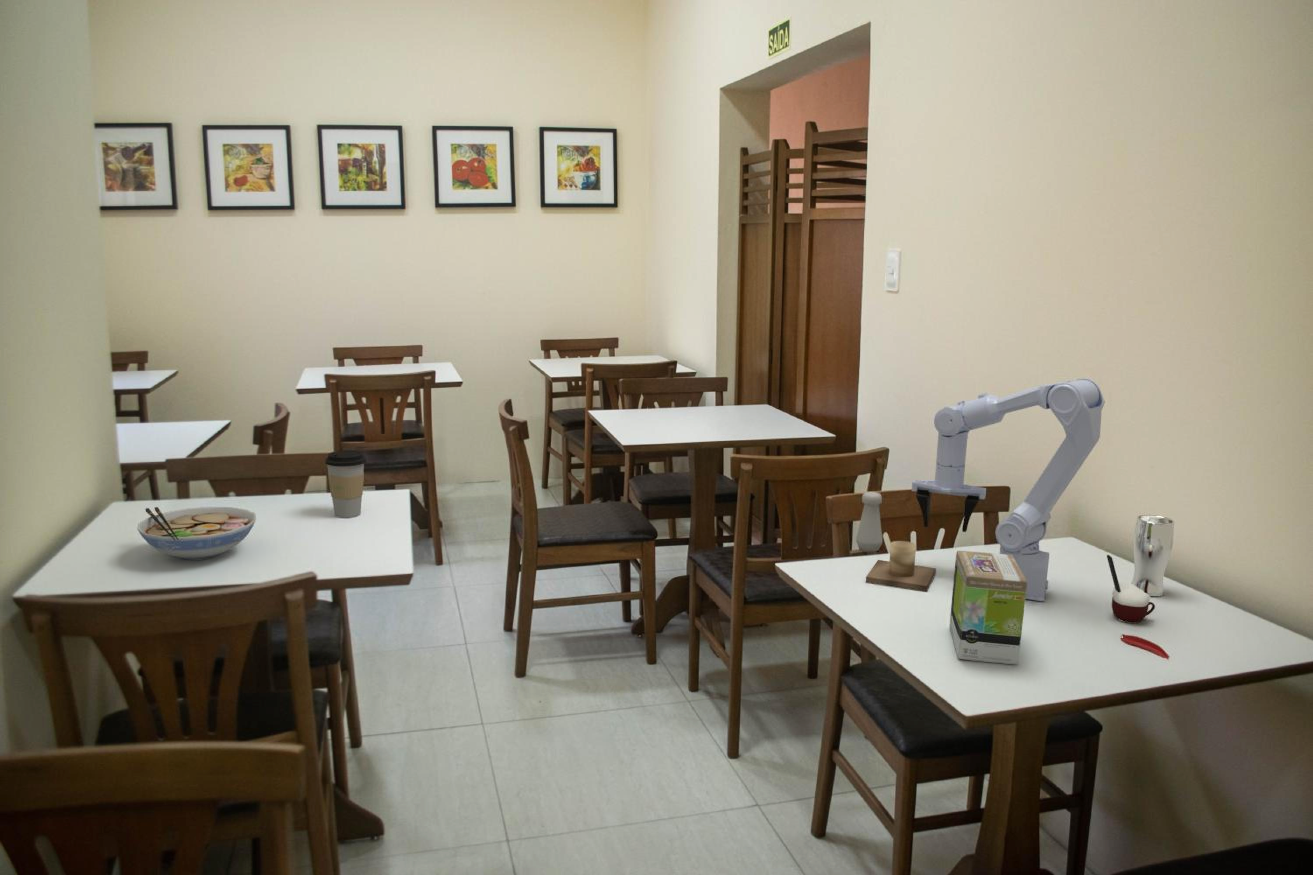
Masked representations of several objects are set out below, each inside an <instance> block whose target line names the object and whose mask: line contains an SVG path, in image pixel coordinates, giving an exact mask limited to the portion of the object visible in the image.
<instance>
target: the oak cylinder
mask: <svg viewBox="0 0 1313 875" xmlns="http://www.w3.org/2000/svg"><path fill="white" fill-rule="evenodd" d="M889 549H890V551H889V561H890V562H889V573H890V574H892V575H895V576H899V577H910V576H913V575H914V567H915V564H916V551H917V544H915V543H913V542H911V541H907V540H906V541H905V540H894V541H891V543H890V548H889Z"/></svg>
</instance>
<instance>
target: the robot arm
mask: <svg viewBox="0 0 1313 875" xmlns="http://www.w3.org/2000/svg"><path fill="white" fill-rule="evenodd" d="M1105 403H1106V401H1105V398H1104V396H1103V393H1102V390H1101V389H1100V386H1099V385H1098V384H1097V383H1096V382H1095V381H1094V380H1092V379H1090V378H1084V377H1083V378H1079V379H1076V380H1074V381H1073V380H1068V381H1061V382H1060V381H1059V382H1054V383H1053V382H1052V383H1047V384H1042V385H1038V386H1035V387H1034V386H1033V387H1031V388H1028V389H1026V390H1022V391H1018V392H1017V393H1014V394H1009V395H1008V396H1007V395H1006V396H1004V397H1002V398H1000V397H999V396H997V395H994V394H988V393H987V392H986V393H981V394H978V395H977V398H974V399H972V400H968V401H965V400H960V401H958V402H957V403H956V404H957V405H954V406H944V407H942V408H941V409H939V410H938V411H937V412H936V413H935V416H934V418H933V422H934V428H935V429H936V430H937V432H938V436H937V447H936V459H935V462H936V463H935V476H934V481H933V480H917V479H913V481H912V484H911V492H916V494H915V497H916V501H917V502H918V504H919V507H920V510H921V514H922V519H923V527H925V528H928V527H929V525H930V520H931V518H930V514H931V513H930V509H931V508H930V507H931V500H932V493H934V494H941V495H950V496H951V495H952V496H959V497H966V498H965V499H964V516H963V523H962V529H961V530H962V532H963V533H966V532H967V531H968V526H969V521H970V519H971V516H972V515H973V512H974V510H975V508H976V507H977V505H978V503H979V501H980V500H985V499H986V495H987V494H986V493H987V488H986V487H980V486H974V485H969V484H965V471H966V459H967V458H966V457H967V447H968V446H967V445H968V438H969V436H968V435H969V432H970V431H974V430H977V429H981V428H984V427H987V426H991V425H994V424H999V423H1001V422H1002V421H1003V419H1004V417H1005V415H1006V414H1008V413H1012V412H1017V411H1021V410H1024V409H1028V408H1032V407H1036V406H1039V407H1041V409H1044V410H1049V409H1050V410H1051V412H1052V414H1053V415H1054V417H1056V419H1057V421H1059V423H1060V424H1061V425H1062V428H1063V430H1064V433H1065V438H1064V439H1063V441H1062V442H1061V443H1060V445H1059V446H1058V448H1057V450H1056V451H1055V453H1054V454H1053V456H1052V457H1051V459H1050V461H1049V462H1048V464H1047V465H1046V467H1045V468H1044V469H1043V471H1042V473H1041V474H1040V475H1039V478H1038V479H1037V480H1036V482H1035V484H1034V485H1033V487H1032V488H1031V490H1030V491H1029V492H1028V494H1027V496H1026V497H1025V499H1024V500H1023V502H1022V503H1021V504H1019V505H1018V506H1017V507H1016V508H1015V509H1013V511H1012V512H1011V513H1010V515H1009V516H1008V517H1007V518H1005V519H1004V520H1001V521H1000V522H999V523H998V524H997V525H996V528H995V538H996V541H997V543H998V545H999V546H1000V547H999V554H1007V555H1013V557H1014V559H1015V560H1016V562H1017V564H1018V566H1019V568H1020V569H1021V571H1022V573H1023V574H1024V577H1025V578H1026V581H1027V589H1026V598H1025V600H1031V601H1038V602H1044V601H1045V598H1046V597H1045V596H1046V591H1047V590H1048V588H1049V580H1048V574H1049V573H1048V572H1049V563H1050V552H1048V551H1042V550H1040V543H1039V542H1041V541H1042V540H1043V539H1044V538H1045V536H1046V534H1047V528H1048V527H1047V526H1048V523H1049V521H1050V520H1051V518H1052V516H1051V512H1052V510H1053V508H1054V507H1055V505H1056V504H1057V503H1058V501H1059V500H1060V498H1061V496H1062V495H1063V494H1064V492H1065V491H1066V489H1067V488H1068V486H1069V484H1070V483H1071V482H1072V480H1073V479H1074V478H1075V476H1076V474H1077V473H1078V471H1079V470H1080V469H1081V467H1082V466H1083V464H1084V463H1085V461H1086V460H1087V458H1088V457H1089V455H1090V454H1091V452H1092V451H1093V449H1094V448H1095V446H1096V445H1097V444H1098V442H1099V440H1100V437H1101V427H1102V425H1101V424H1102V412H1103V411H1102V410H1103V408H1104V405H1105Z"/></svg>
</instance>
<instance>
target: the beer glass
mask: <svg viewBox="0 0 1313 875" xmlns="http://www.w3.org/2000/svg"><path fill="white" fill-rule="evenodd" d="M1174 528H1175V520H1173V519H1171V518H1169V517H1166V516H1161V515H1154V514H1140V515H1138V516H1137V518H1136V523H1135V528H1134V532H1133V534H1134V535H1133V542H1132V546H1133V549H1132V550H1133V564H1134V569H1133V570H1134V571H1133V573H1134V574H1133V578H1132V581H1131V582H1130V583H1131V584H1133V585H1135V586H1136V587H1138V588H1139V589H1141V590H1143V591H1144V592H1145V593H1146V594H1148V595H1149V596H1158V595H1161V594H1163V593H1164V594H1165V592H1164V591H1165V590H1164V576H1165V571H1166V568H1167V565H1168V563H1169V559H1170V556H1171V553H1172V548H1173V544H1174V532H1175V531H1174V530H1175V529H1174ZM1164 594H1163V595H1164Z"/></svg>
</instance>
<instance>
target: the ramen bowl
mask: <svg viewBox="0 0 1313 875" xmlns="http://www.w3.org/2000/svg"><path fill="white" fill-rule="evenodd" d="M154 511H155V513H156V515H155V513H153V511H152V510H151V509H150V508H149V507H145V513H147V514H148V515H149V517H147V518H145V519H144V520H142V521H140V522H139V523H138V525H137V531H138V533H139V535H140V536H141V537H142V538H143V540H144V541H146V542H147V544H149V545H150V546H151V547H152V548H153V549H155V550H157V551H158V552H160V553H162V554H165V555H168V556H170V557H171V556H172V557H178V558H182V559H183V560H188V561H189V560H190V561H201V560H206V559H207V560H208V559H212V558H214V557H217V556H218V555H219V554H222V553H224V552H227V551H229V550H232V549H233V548H235V547H236V546H237V545H238V544H240V543H242V542H243V541H244V540H245V538H246V537H247V536H248V535H249V533H250V532H251V531H252V529H253V527H254V525H255V522H256V520H257V516H256V513H255V512H252V511H250V510H248V509H244V508H238V507H232V506H204V507H190V508H183V509H177V510H172V511H167V512H166V511H165V512H161V510H160V508H159V507H158V506H155V507H154Z"/></svg>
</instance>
